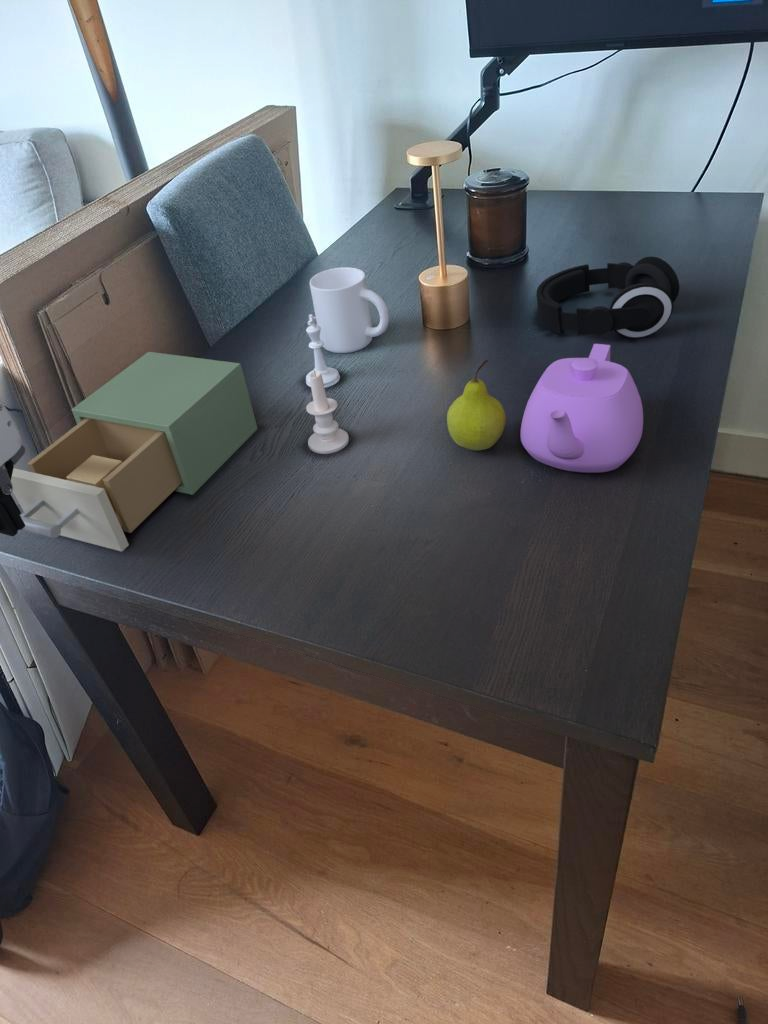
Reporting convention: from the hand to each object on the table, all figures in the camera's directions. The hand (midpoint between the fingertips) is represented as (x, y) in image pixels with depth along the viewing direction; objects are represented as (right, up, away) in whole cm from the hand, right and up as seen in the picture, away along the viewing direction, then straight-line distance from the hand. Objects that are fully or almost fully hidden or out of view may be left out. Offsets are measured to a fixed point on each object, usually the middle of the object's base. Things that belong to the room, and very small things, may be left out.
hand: (9, 528), depth 77 cm
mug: (+34, +28, +40) cm, 59 cm away
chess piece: (+29, +21, +33) cm, 48 cm away
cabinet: (+11, +10, +22) cm, 27 cm away
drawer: (+5, +1, +12) cm, 13 cm away
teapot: (+61, +9, +12) cm, 63 cm away
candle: (+31, +10, +20) cm, 38 cm away
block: (+6, +3, +12) cm, 13 cm away
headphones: (+71, +31, +37) cm, 86 cm away
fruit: (+49, +10, +15) cm, 53 cm away
